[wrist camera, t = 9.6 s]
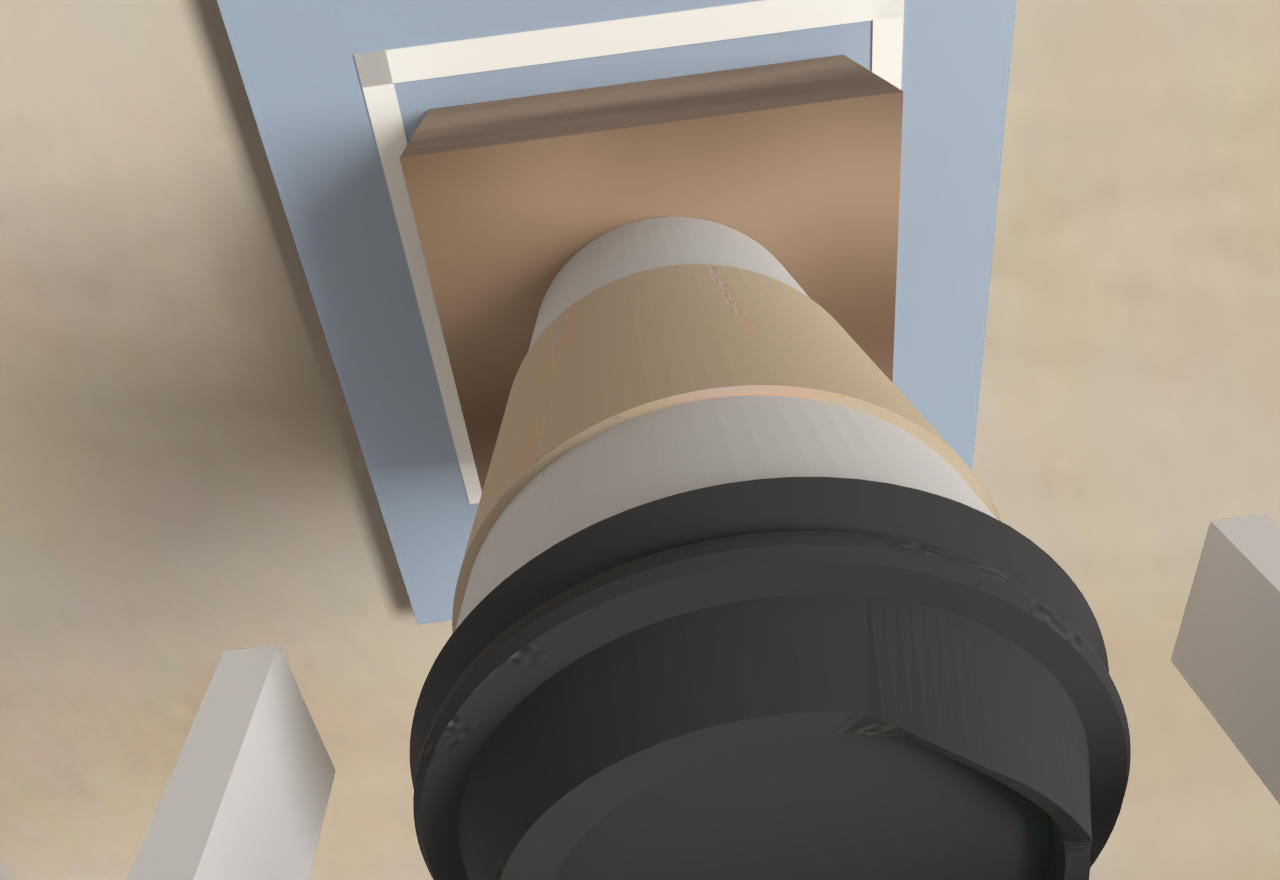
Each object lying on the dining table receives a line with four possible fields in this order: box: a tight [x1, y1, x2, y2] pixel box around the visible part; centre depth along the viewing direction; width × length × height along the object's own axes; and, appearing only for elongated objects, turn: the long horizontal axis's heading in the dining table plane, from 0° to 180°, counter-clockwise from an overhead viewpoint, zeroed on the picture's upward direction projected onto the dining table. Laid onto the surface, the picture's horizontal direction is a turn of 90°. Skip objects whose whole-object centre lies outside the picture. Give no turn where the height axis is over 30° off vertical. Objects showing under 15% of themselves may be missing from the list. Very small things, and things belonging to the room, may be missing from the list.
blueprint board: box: [217, 0, 1016, 624], centre depth 27 cm, size 24×20×1 cm
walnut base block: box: [400, 55, 903, 491], centre depth 25 cm, size 11×11×5 cm
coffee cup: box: [410, 217, 1130, 880], centre depth 16 cm, size 9×9×15 cm
